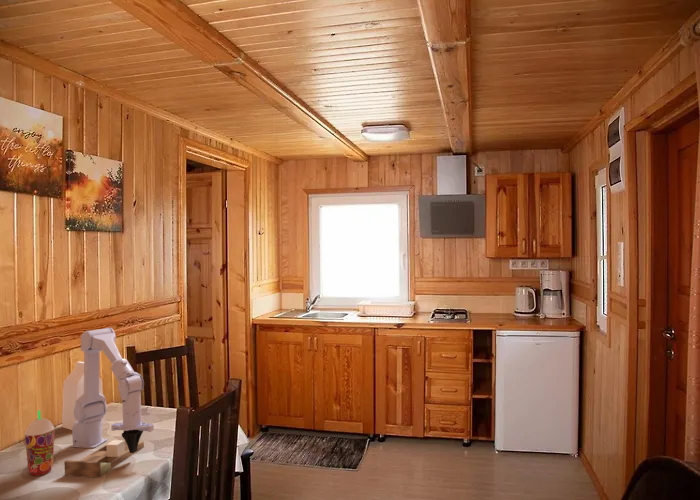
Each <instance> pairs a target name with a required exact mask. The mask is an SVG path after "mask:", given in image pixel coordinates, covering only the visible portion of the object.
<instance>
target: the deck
mask: <svg viewBox="0 0 700 500" xmlns="http://www.w3.org/2000/svg"><path fill="white" fill-rule="evenodd" d="M123 441H124V442H125V452H124V453H123V454H121V455H120V456H118V457H107V449H106V445H107V444H105V445H104V446H102V447H100V448H99V449H97V450H95V451H94V452H92V453H90V454H89V455H87V456H85V457H83V458H82V459H80V460H74V459H73V460H72V459H69V460H68V459H67V460H65V461H64V462H63V463H64V464H63V465H64V476H65V475H72V476H71V477H81V476H85V477H84V478H100V477H101V476H103V475H104V474H107V472H109V471H110V470H112V469H113V468H115V467H116V466H118V465H120V464H121V463H122V462H124V461H125V460H127V459H129V458H130V457H131V456H133V455H135V454H137V452H139V451H141V450H142V449H143V448H145V444H144V441H139V442H138V446H137V451H136V452H134V453H130V452H129V449H128V446H127V443H126V441H125V440H123Z"/></svg>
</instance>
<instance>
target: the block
mask: <svg viewBox="0 0 700 500" xmlns="http://www.w3.org/2000/svg"><path fill="white" fill-rule="evenodd" d="M124 441H125V440H121V439H120V440H117V439H114V440H112V441H110V442H108V443H106V444H105V445H106V449H107V457H118V456H120V455H121V454H123V453H124V452H125V442H124Z"/></svg>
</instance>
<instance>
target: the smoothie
mask: <svg viewBox="0 0 700 500" xmlns="http://www.w3.org/2000/svg"><path fill="white" fill-rule="evenodd" d="M55 428H56V427H55V426H54V424H53V423H52V422H51V420H49V419H47V418H45V417H41V410H40V409H39V410H37V419H34V420H32V421H31V422H30V423H29V424H28V425H27V427H26V430H25V431H24V432H23V433H24V439H25V440H24V441H25V450H26V459H27V460H26V461H27V469H28V472H29V473H30V474H29V475H31V476H35V477H38V476H43V475H45V474H48V473H50V472H51V470H52V467H54V454H55V452H54V449H55V447H54V446H55Z"/></svg>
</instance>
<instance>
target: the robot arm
mask: <svg viewBox="0 0 700 500" xmlns="http://www.w3.org/2000/svg"><path fill="white" fill-rule="evenodd" d="M116 337H117V336H116V332H115V330H114V329H113V328H112V327H107V328H106V327H105V328H100V329H93V330H85V331H83V332H82V334H81V335H80V351H81V352H83V362H84V394H83V395H82V396H81V397H80V398H78V399H77V400H76V403H75V408H74V417H75V419H76V420H77V421H76V422H75V423H74V425H73V428H72V430H71V432H72V445H71V446H70V447H71V448H83V449H85V448H86V449H87V448H88V449H94V448H96V447H98V446H101V445H102V444H104V443H105V442H107V441H108V440H109V439H108V438H103V424H102V418H103V416H104V415H105V416H106V413H107V410H108V405H107V403H106V402H107V401H106V397H105V395H104V394H103V395H102V394H100V393H99V377H100V353H101V351H102V352H103V354H104V355H105V356H106V358H107V359H108V360H109V362H110V363H111V364H112V365H111V367H110V369H111V372H112V374H113V375H114V377H115V378H116V380H117V382H118V386H117V387H118V391H119V394H120V396H119V397H120V399H121V400H122V402H121V403H122V422H115V423H113V424H111V425H110V426H111V430H110V431H112V432H113V431H123V432H122V433H121V437H122V438H123V441H126V443H127V446H128V449H129V452H130V453H134V452H136V451H137V446H138V442H140V439H141V436H142V434H143V433H144V432H147V433H151V432H153V431H154V430H155V428H154V427H155V426H154V424H153V423H147V422H142V400H141V398H142V397H141V396H142V394H141V391H143V390H144V386H145V381H144V379H143V378H144V377H143V376H142V375H141V374H140V373H138V372H137V371H135V370H134V369H133V367H132V366H131V364H130V362H129V360H128V359H126V358H123V357H122V356H121V353H120V350H119V349H118V346H117V345H116V341H117V340H116ZM136 453H137V452H136Z"/></svg>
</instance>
